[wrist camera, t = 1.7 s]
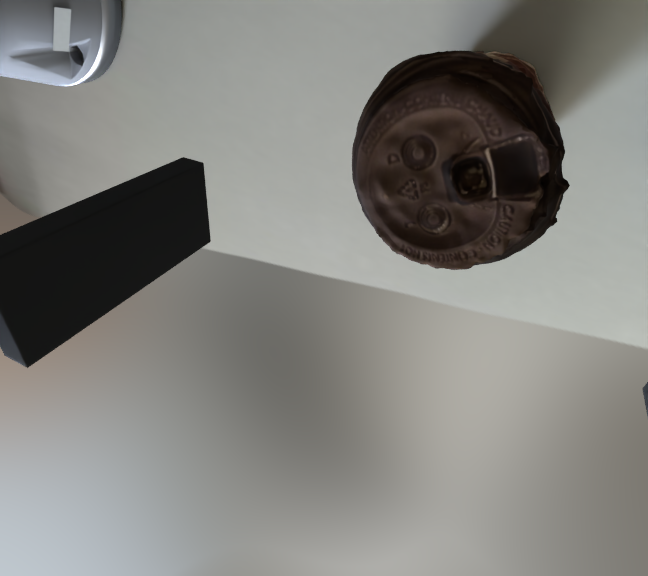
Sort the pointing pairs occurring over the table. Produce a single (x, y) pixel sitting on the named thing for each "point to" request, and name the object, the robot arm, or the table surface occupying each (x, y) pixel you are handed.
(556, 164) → the coffee cup
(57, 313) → the robot arm
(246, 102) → the table surface
